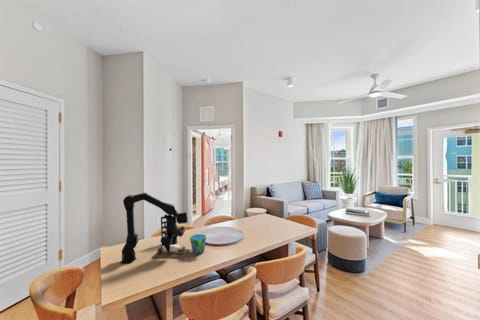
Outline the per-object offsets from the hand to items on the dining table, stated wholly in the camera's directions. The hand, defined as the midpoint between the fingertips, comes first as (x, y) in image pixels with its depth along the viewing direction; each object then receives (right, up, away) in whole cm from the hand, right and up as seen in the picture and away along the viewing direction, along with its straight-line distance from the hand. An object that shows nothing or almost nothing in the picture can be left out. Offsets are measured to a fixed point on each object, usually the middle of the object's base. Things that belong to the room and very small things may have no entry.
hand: (171, 248), depth 139 cm
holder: (-8, -4, +19) cm, 20 cm away
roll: (0, -2, 0) cm, 2 cm away
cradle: (0, -4, 0) cm, 4 cm away
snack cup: (+17, -3, +2) cm, 18 cm away
